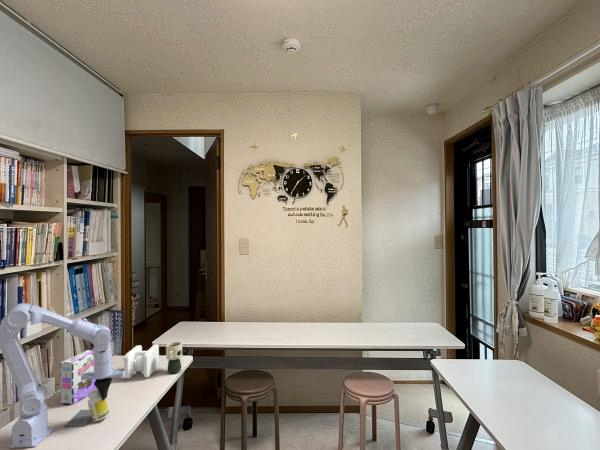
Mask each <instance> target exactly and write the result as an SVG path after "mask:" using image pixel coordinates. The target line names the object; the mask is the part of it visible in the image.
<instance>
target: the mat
mask: <svg viewBox="0 0 600 450" xmlns="http://www.w3.org/2000/svg"><path fill="white" fill-rule="evenodd" d="M91 421H93V420H92V416H91V413H90V410H89V409H80V410H79V411H78V412H77V413H76V414H75V415H74V416H73V417H72V418H71V419H70V420H68V421H67V423H65V424H64V428H75V427H87V425H88V424H89V423H90V422H91Z"/></svg>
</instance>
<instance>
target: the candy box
mask: <svg viewBox="0 0 600 450" xmlns="http://www.w3.org/2000/svg"><path fill="white" fill-rule="evenodd" d="M59 367H60V404H63V405H64V404H65V405H71V406H72V405H75V404H77V403H78V402H80V401H81V400H83V399H85V398H86V397H88V393H89V392H91V391H93V390H95V389H97V387H96V386H95V385H94V382H95V381H96V379H90V380H84V381H81V375H82V374H84V373H90V372H94V361H93V350H92V349H91V350H90V349H87V350H85V351H83V352H80V353H79V354H76V355H74V356H72V357H69V358H68V359H65V360H64V361H63V360H62V361H61V362H60V364H59Z"/></svg>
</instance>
